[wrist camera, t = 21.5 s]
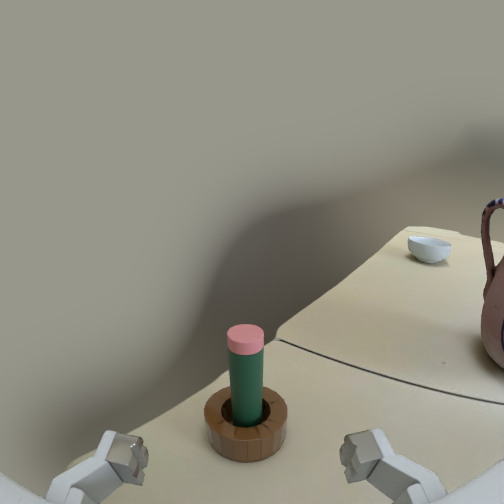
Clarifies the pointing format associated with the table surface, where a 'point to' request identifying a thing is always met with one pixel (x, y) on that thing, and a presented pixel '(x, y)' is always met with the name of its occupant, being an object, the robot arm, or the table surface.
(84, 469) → the robot arm
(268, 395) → the brown hollow cylinder
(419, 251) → the cereal bowl
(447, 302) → the table surface
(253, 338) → the pink-capped green cylinder
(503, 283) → the ceramic pitcher
